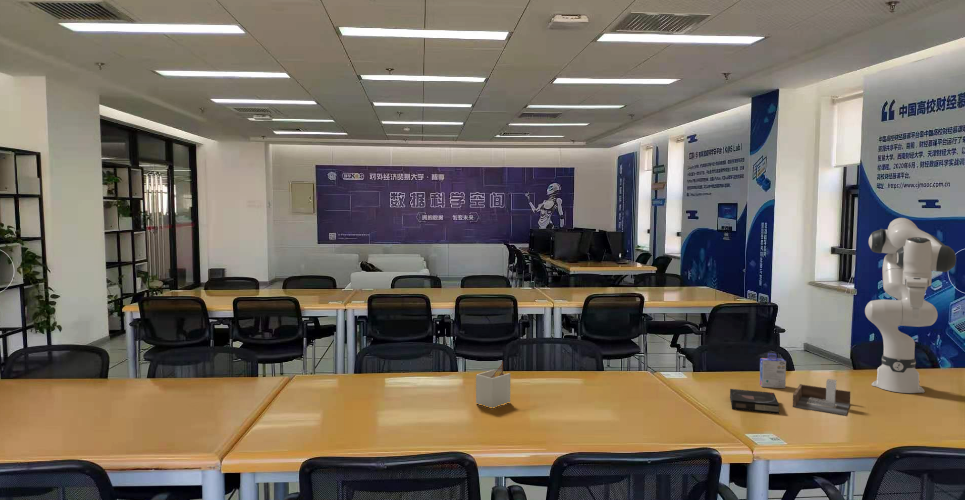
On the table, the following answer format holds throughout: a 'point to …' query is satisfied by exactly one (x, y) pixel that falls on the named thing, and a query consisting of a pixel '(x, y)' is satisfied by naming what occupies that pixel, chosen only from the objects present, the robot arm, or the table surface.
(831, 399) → the angle bracket
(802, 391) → the corner arena
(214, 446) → the table surface
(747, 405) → the flat black box
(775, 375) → the ink cartridge box
